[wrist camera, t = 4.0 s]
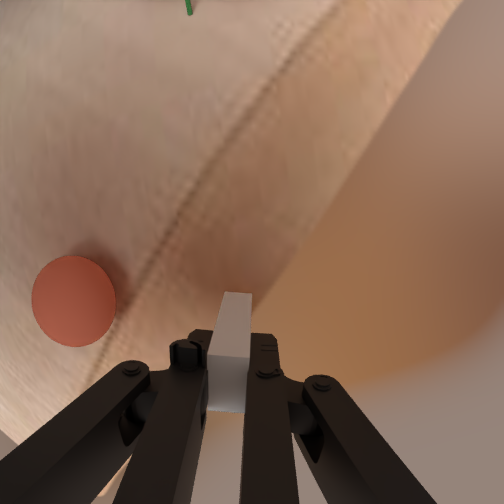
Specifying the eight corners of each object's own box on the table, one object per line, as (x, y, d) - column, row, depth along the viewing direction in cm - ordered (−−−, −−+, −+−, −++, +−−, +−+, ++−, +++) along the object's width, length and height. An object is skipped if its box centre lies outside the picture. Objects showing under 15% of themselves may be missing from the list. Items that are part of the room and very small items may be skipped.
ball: (58, 244, 18) (8, 265, 13) (127, 249, 18) (83, 275, 13) (67, 317, 19) (25, 352, 14) (132, 329, 19) (98, 372, 14)
